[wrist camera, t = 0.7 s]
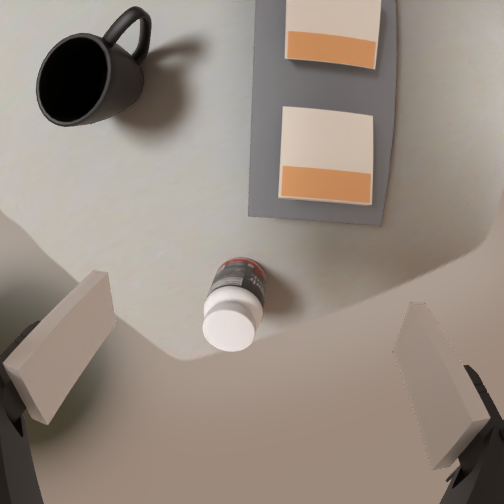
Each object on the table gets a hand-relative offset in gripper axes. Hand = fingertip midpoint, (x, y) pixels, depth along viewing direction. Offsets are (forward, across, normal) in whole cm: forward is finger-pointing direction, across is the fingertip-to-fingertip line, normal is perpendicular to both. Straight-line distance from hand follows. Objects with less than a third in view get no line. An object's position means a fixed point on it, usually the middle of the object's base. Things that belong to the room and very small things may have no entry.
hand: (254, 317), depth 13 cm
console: (+21, +4, +16) cm, 27 cm away
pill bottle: (+21, -2, -10) cm, 24 cm away
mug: (+21, -15, +13) cm, 29 cm away
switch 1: (+15, +4, +17) cm, 23 cm away
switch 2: (+15, +4, +5) cm, 17 cm away
